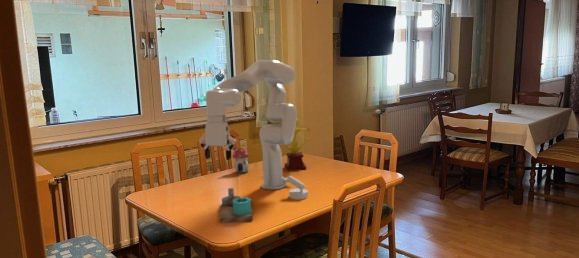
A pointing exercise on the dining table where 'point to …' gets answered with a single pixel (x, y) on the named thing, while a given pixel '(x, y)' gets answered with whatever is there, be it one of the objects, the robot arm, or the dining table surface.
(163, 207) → the dining table surface
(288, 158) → the potted plant
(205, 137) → the robot arm
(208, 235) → the dining table surface
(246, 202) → the collar
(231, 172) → the dining table surface
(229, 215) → the board
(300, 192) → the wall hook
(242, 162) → the decorative ornament
